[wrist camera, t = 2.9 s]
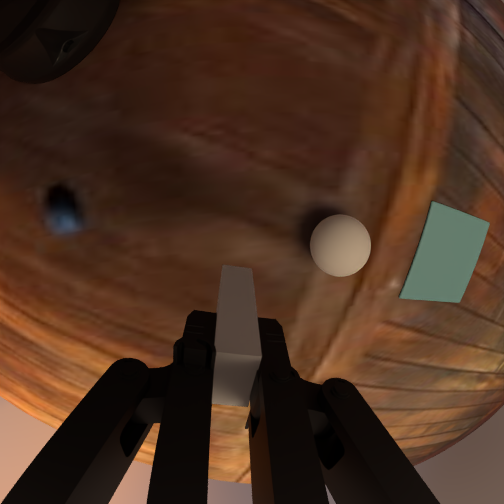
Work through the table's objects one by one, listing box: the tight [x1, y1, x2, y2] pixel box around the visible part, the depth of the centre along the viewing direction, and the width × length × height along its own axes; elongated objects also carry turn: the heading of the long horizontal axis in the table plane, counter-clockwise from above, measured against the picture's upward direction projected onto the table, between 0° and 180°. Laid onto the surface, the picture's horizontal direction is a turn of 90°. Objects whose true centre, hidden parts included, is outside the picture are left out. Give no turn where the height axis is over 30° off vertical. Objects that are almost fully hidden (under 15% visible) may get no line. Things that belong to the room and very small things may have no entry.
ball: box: [310, 214, 371, 277], centre depth 24 cm, size 6×6×6 cm
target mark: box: [399, 201, 490, 303], centre depth 29 cm, size 12×12×1 cm
